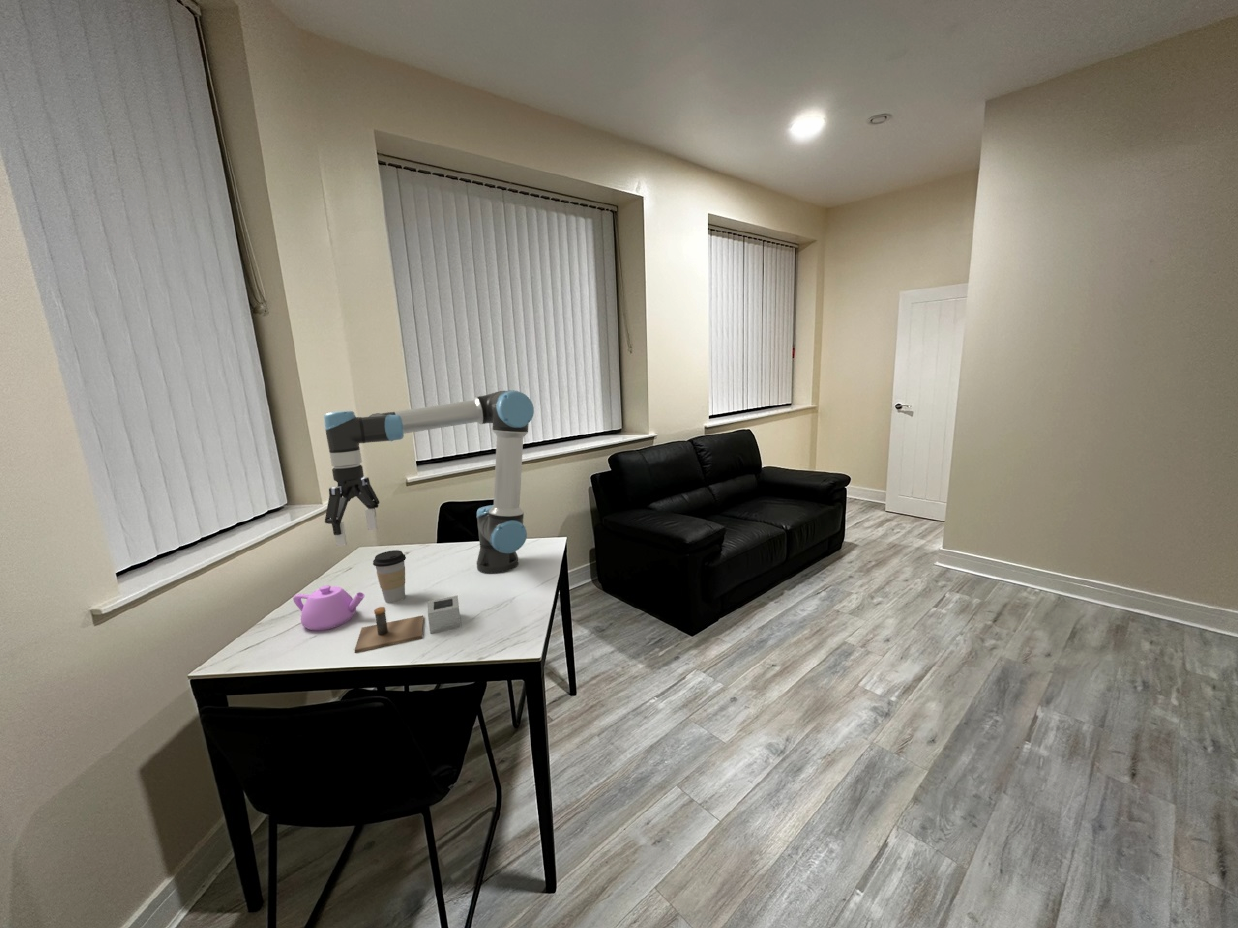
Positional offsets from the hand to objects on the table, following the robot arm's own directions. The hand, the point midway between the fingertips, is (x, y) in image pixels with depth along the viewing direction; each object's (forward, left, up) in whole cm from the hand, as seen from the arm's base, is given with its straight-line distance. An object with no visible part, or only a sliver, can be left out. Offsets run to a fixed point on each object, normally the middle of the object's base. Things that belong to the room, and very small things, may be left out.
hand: (358, 536), depth 134 cm
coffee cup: (-6, -7, -24) cm, 26 cm away
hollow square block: (-21, +17, -24) cm, 36 cm away
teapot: (+10, 0, -24) cm, 26 cm away
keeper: (-7, +17, -24) cm, 30 cm away
